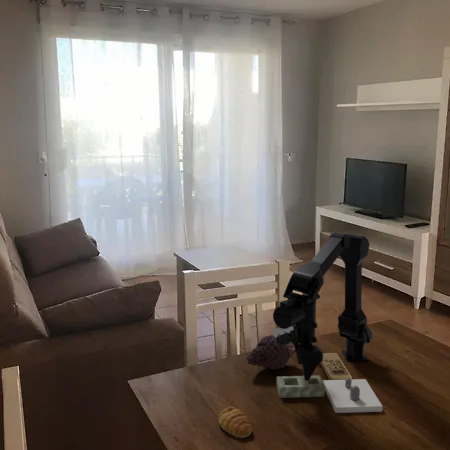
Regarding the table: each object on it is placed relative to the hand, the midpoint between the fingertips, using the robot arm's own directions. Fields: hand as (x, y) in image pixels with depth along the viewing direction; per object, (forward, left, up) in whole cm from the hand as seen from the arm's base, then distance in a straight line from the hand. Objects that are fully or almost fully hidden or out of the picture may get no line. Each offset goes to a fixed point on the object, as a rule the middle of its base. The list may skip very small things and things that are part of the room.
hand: (303, 371), depth 141 cm
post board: (+4, +12, -6) cm, 14 cm away
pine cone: (-14, -7, -6) cm, 17 cm away
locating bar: (0, -1, -6) cm, 6 cm away
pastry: (+16, -19, -6) cm, 26 cm away
